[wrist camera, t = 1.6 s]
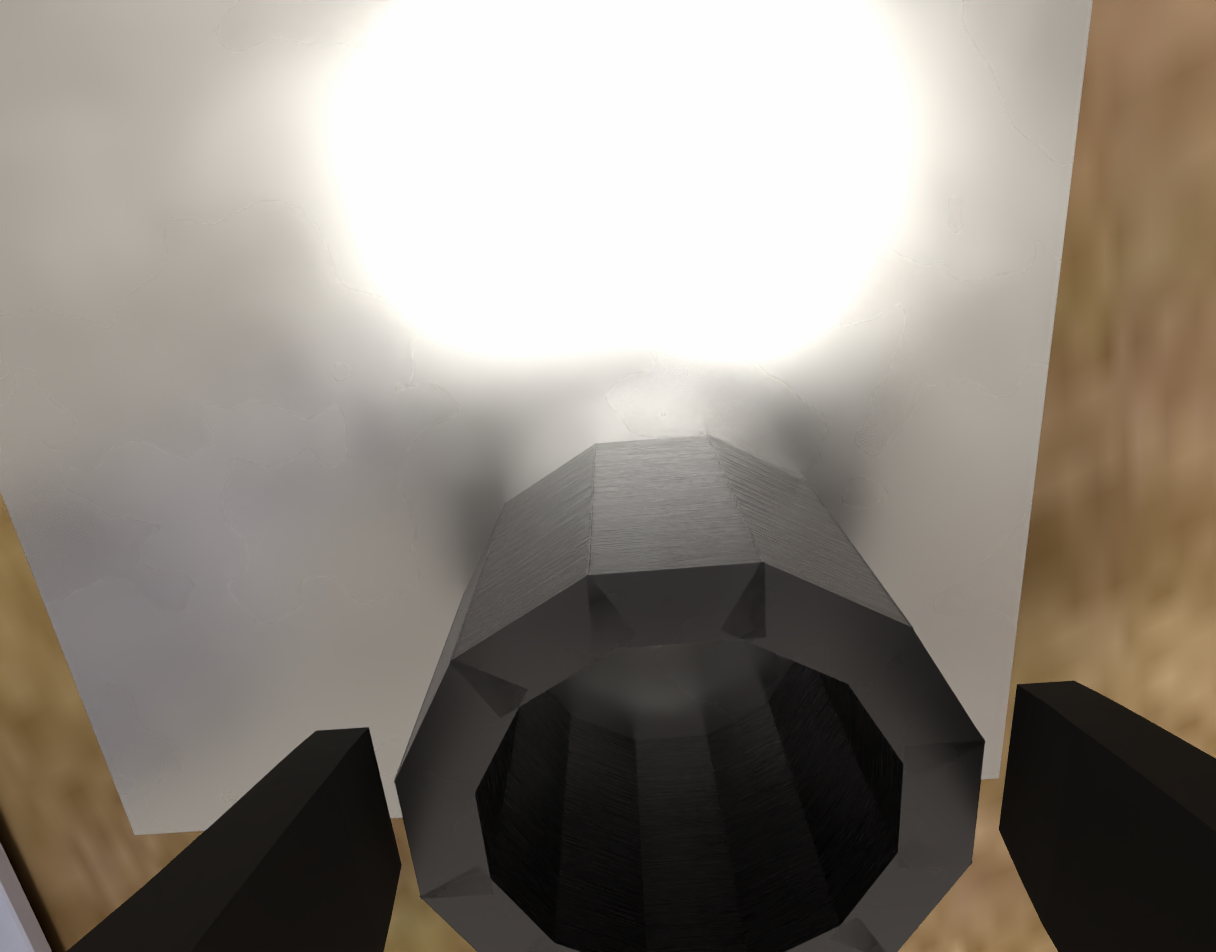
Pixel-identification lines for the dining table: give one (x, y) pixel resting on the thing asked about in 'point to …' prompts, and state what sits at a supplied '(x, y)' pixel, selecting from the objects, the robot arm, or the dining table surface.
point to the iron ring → (685, 766)
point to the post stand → (502, 331)
